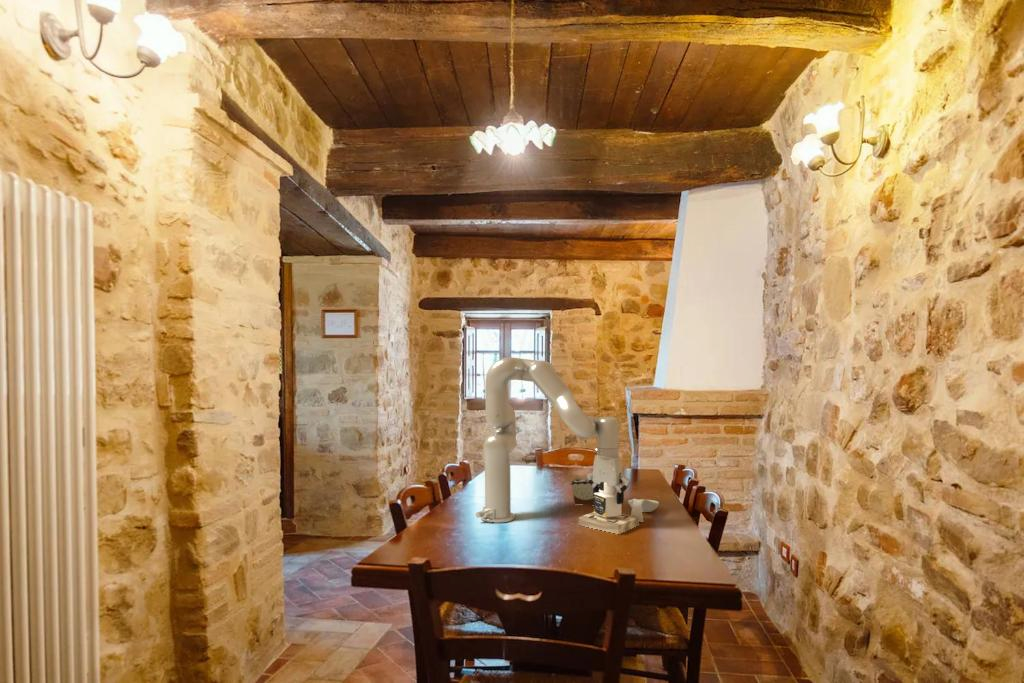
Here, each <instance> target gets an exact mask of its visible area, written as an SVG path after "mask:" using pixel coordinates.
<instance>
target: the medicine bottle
mask: <svg viewBox="0 0 1024 683" xmlns="http://www.w3.org/2000/svg"><path fill="white" fill-rule="evenodd" d="M622 504H623V503H621V504H617V489H616V487H615V486H614V487H612V486H608V485H607V483H605V482H600V484H599V492H598V493H594V506H593V512H594V513H595V514H598V515H600V516H603V517H605V518H607V517H614V516H621V514H623V513H622Z"/></svg>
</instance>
